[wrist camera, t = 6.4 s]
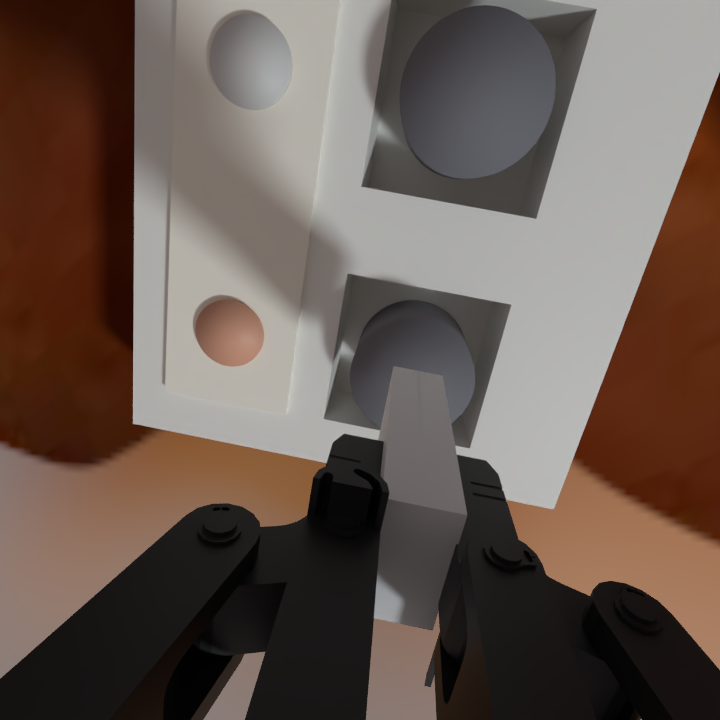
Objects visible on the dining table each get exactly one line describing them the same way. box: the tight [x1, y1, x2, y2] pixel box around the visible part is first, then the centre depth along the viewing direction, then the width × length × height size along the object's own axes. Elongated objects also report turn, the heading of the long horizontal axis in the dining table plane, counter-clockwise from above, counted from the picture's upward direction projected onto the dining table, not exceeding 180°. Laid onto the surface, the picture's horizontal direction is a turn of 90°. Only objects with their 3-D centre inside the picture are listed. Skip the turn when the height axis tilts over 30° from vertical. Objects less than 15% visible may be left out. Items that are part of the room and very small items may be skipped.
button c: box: [350, 300, 475, 427], centre depth 18 cm, size 4×4×3 cm
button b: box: [400, 5, 556, 179], centre depth 15 cm, size 4×4×3 cm
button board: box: [133, 0, 720, 509], centre depth 17 cm, size 18×28×4 cm, turn 170°
